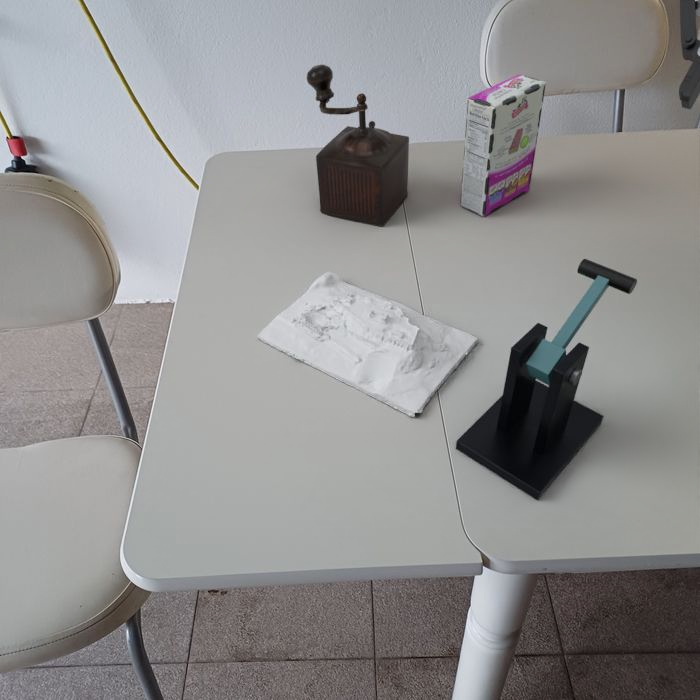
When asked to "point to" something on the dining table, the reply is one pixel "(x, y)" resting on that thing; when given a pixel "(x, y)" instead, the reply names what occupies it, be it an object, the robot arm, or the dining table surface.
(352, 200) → the manual coffee grinder
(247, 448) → the dining table surface
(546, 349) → the switch lever
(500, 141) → the candy bar box
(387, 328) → the terrain model
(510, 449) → the switch bracket
